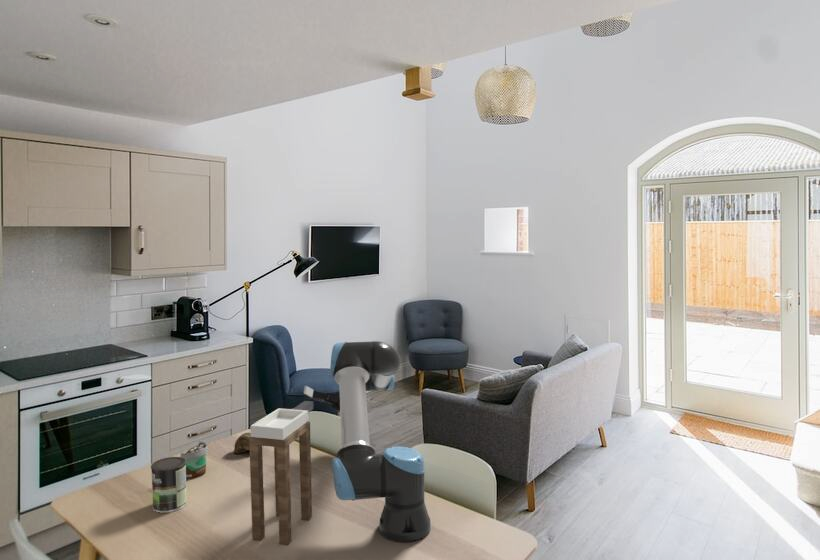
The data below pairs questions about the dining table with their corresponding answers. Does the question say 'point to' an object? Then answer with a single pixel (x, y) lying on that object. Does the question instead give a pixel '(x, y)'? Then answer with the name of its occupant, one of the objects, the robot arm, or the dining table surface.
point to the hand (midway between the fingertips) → (322, 390)
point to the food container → (195, 460)
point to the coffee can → (169, 484)
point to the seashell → (242, 443)
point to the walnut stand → (280, 482)
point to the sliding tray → (282, 422)
